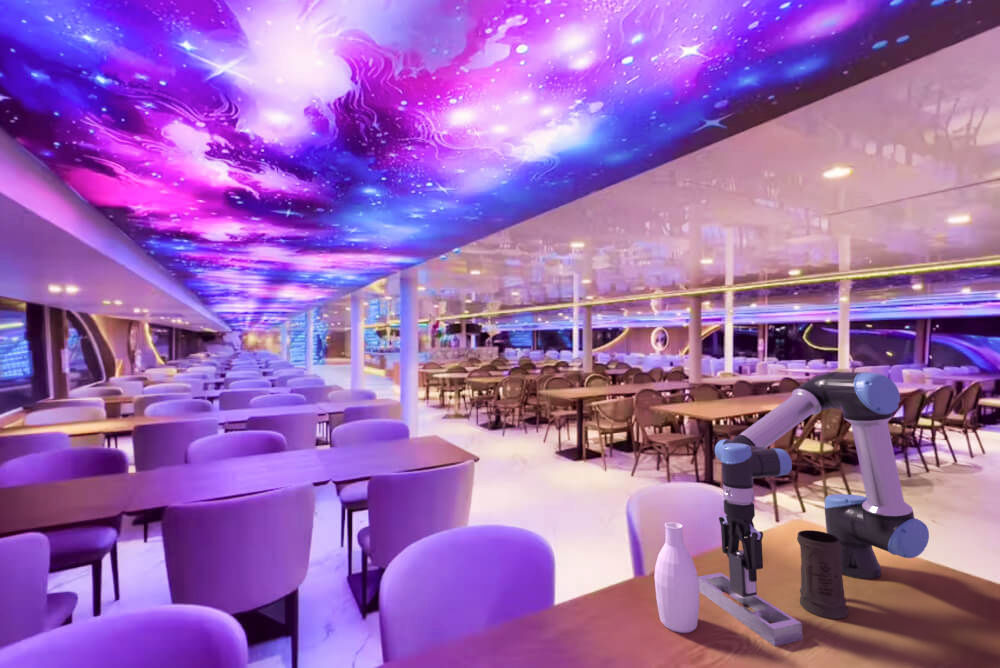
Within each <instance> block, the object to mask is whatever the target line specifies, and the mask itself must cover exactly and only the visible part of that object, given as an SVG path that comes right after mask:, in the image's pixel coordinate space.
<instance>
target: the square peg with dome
mask: <svg viewBox="0 0 1000 668" xmlns="http://www.w3.org/2000/svg"><path fill="white" fill-rule="evenodd" d="M728 553H729V558H728V568H729V578H730V589H731V590H732V591H734V592H735V593H737V594H739V595H740V596H742V597H748V596H753V595H757V596H758V592H757V591H758V590H757V589H758V588H756V592H754V593H749V594H748V593H746V588H745V570H744V567H747V565H746V561H745V556H744V551H743V549H740V550H739V549H738V550H737V551H734V552H728ZM751 564H752V563H751Z"/></svg>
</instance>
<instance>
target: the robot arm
mask: <svg viewBox="0 0 1000 668" xmlns="http://www.w3.org/2000/svg"><path fill="white" fill-rule="evenodd" d="M900 402H901V395H900V391H899V389H898V386H897V384H896V383H895V382H894V381H893V380H892V379H891V378H889V377H888V376H887V375H884V374H881V373H875V372H874V373H873V372H867V371H866V372H865V371H864V372H858V371H856V372H855V371H851V372H850V371H848V372H847V371H846V372H845V371H844V372H843V371H842V372H841V371H830V372H825V373H822V374H819V375H816V376H815V377H813V378H811V379H809V380H807V381H805V382H804V383H802V384H801V385H799V386H797V387H796V388H795V389H793V390H792V392H791V396H790V397H789V398H787V399H786V400H784V401H783V402H782V403H780V404H779V405H778V406H776V407H775V408H773V409H772V410H771V411H770V412H768V413H767V414H766V415H764V416H763V417H761V418H760V419H759V420H757V421H755V422H754V423H753V424H751V426H749V427H748V428H746V429H745V430H743V431H742V432H741V433H739V434H738V435H737V436H735V437H734V438H733V439H721V440H719V441H718V442H717V443H716V444H715V446H714V455H715V458H716V459H717V460H718V461H720V462H721V463H720V464H721V474H722V475H721V477H722V490H723V491H722V494H723V499H724V500H723V512H724V514H725V515H726V516H719V517H718V520H719V523H720V531H721V532H720V534H721V547H722V548H721V551H722V553H723V554H726V556H727V558H728V559H729V553H728V552H734V551H737V550H739V545H740V542H741V546H742V551H744V556H745V561H746V565H747V567H744V570H745V588H746V593H748V594H749V593H754V592H756V589H757V581H758V579H757V578H758V576H757V571H758V570H762V569H763V568H764V559H763V537H764V533H763V531H758V530H757V529H756V527H755V525H754V522H753V520H754V518H755V516H756V514H755V513H756V512H755V510H756V509H755V503H754V502H755V496H754V495H755V493H754V492H755V491H754V479H759V478H771V477H777V478H778V477H781V476H786V475H788V474H790V472H791V471H792V468H793V464H792V463H793V462H792V458H791V457H790V454H789V453H788V452H786V450H784V449H782V448H773V447H771V448H768V447H769V446H771V445H772V444H773V443H775V442H776V441H777V440H779V439H780V438H781V437H783V436H784V435H786V433H788V432H789V431H791V430H792V429H794V428H795V427H796V426H797V425H799V424H800V423H801V422H803V421H804V420H806V419H807V418H809V417H810V416H811V415H813V416H814V415H815V416H816V415H818V414H820V413H821V412H822V411H825V410H828V409H837V410H841V411H842V417H843V419H844V420H845V421H847V422H848V423H850V425H851V430H852V434H853V435H852V436H853V439H854V445H855V448H856V449H855V450H856V454H857V458H858V464H859V469H860V473H861V477H862V478H861V479H862V483H863V487H864V492H865V496H863V495H859V494H858V495H857V494H848V493H847V494H845V493H843V494H842V493H841V494H840V493H835V494H830V495H827V496H826V497H825V499H824V515H825V518H824V519H825V528H826V533H829V534H831V535H834V536H836V537H837V538H839V540H840V544H841V552H840V560H841V566H842V576H843V575H844V576H848V577H851V578H855V579H856V578H857V579H870V580H871V579H877V578H879V577H881V576H882V567H881V564H880V563H879V561H878V559H877V556H876V554H875V551H874V549H873V547H875V548H878V549H880V550H883V551H886V552H888V553H889V554H891V555H893V556H898V557H901V558H905V559H914V558H917V557H919V556H920V555H921V554H922V553H924V551H925V549H926V548H927V547H928V543H929V539H930V533H929V529H928V526H927V524H926V523H924V521H922V520H921V519H918V518H915V514H914V510H913V507H912V506H911V505H910V504H908V503H907V502H906V501H905V500H904V495H903V490H902V484H901V481H900V476H899V475H900V474H899V471H898V466H897V461H896V458H895V457H896V456H895V452H894V447H893V442H892V438H891V431H890V429H889V421H890V420H891V419H893V417H894V414H893V413H894V412H896V411H897V410H898V409H899V407H900V405H899V403H900ZM751 563H752V564H751Z"/></svg>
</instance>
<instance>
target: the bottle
mask: <svg viewBox="0 0 1000 668" xmlns="http://www.w3.org/2000/svg"><path fill="white" fill-rule="evenodd" d="M664 527H665V543H664V544H663V546H662V548H661V550H660V551H659V553H658V555H657V559H656V561H655V566H654V567H655V568H654V586H655V587H654V588H655V597H656V604H657V611H658V614H659V620H660V622H661V623H662V625H663V626H664V627H665V628H667V629H668V630H670V631H672V632H676V633H679V634H686V633H687V634H688V633H692V632H694V631H695V630H696V629H697V626H698V622H699V613H700V612H699V611H700V610H699V609H700V592H699V581H698V576H699V575H698V573H697V572H698V571H697V568H696V565H695V562H694V560H693V557H692V556H691V554H690V552H689V551H688V549H687V546H686V545H685V543H684V534H683V528H684V526H683V525H682V524H681V523H679V522H674V521H671V522H670V521H668V522H666V523H664Z"/></svg>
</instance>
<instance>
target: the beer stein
mask: <svg viewBox="0 0 1000 668" xmlns="http://www.w3.org/2000/svg"><path fill="white" fill-rule="evenodd" d="M797 543H798V544H799V548H800V562H801V564H800V578H801V579H800V583H801V584H800V589H799V592H800V596H799V604H800V606H801V607H802V608H803V609H804V610H805V611H807V612H809V613H811V614H813V615H815V616H818V617H821V618H823V619H824V618H825V619H832V620H837V619H839V620H840V619H844V618H846V617H848V615H849V612H848V608H847V606H846V605H847V599H846V597H845V589H844V580H843V574H842V566H841V560H840V552H841V544H840V540H839V538H837V537H836V536H834V535H831V534H829V533H827V532H824V531H819V530H811V529H810V530H807V529H806V530H800V531H798V533H797Z"/></svg>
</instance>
